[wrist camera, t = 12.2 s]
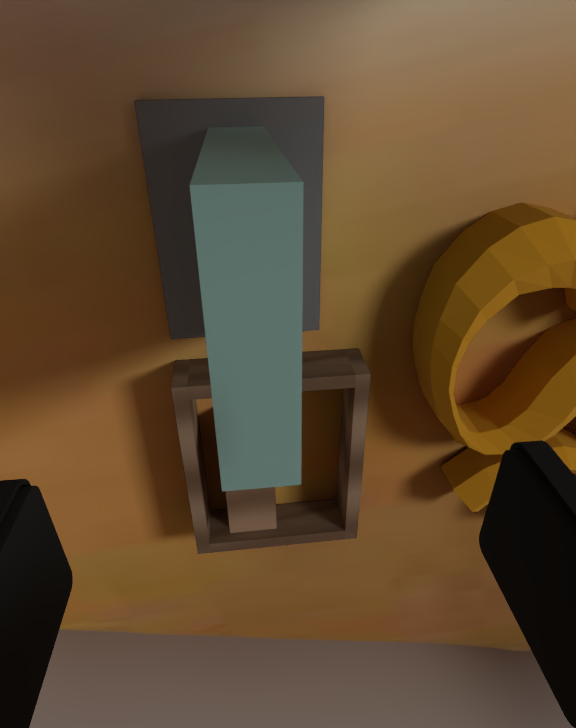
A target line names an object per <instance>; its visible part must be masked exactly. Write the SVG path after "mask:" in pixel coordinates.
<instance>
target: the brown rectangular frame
mask: <svg viewBox="0 0 576 728" xmlns="http://www.w3.org/2000/svg"><path fill="white" fill-rule="evenodd" d="M370 377H371V373H370V371H369V369H368V367H367V365H366V363H365V361H364V359H363V357H362V355H361V353H360V351H359V348H357V349H341V350H326V351H311V352H302V391H315V390H329V389H342V388H343V393H342V412H341V431H340V450H339V469H338V488H337V499H331V500H320V501H310V502H299V503H288V504H277V505H276V525H277V529H267V530H256V531H246V532H236V533H230V527H229V518H228V509H223V510H213V511H210V503H209V496H208V489H207V481H206V474H205V466H204V459H203V451H202V444H201V436H200V429H199V422H198V414H197V407H196V399H205V398H212V392H211V383H210V374H209V364H208V358H205V359H190V360H176V361H175V367H174V373H173V379H172V384H171V392H172V398H173V404H174V410H175V416H176V422H177V428H178V435H179V441H180V447H181V453H182V459H183V465H184V471H185V477H186V484H187V490H188V496H189V502H190V508H191V514H192V520H193V527H194V533H195V539H196V545H197V551H198V554H202V553H212V552H222V551H232V550H242V549H252V548H262V547H271V546H281V545H291V544H301V543H311V542H321V541H331V540H341V539H351V538H357V528H358V516H359V505H360V493H361V482H362V470H363V458H364V447H365V435H366V423H367V412H368V400H369V389H370Z"/></svg>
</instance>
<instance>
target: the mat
mask: <svg viewBox="0 0 576 728" xmlns="http://www.w3.org/2000/svg"><path fill="white" fill-rule="evenodd" d="M134 102H135V108H136V115H137V121H138V128H139V134H140V141H141V147H142V154H143V160H144V167H145V173H146V180H147V186H148V193H149V199H150V206H151V212H152V219H153V225H154V232H155V238H156V245H157V251H158V258H159V264H160V271H161V277H162V284H163V290H164V297H165V303H166V310H167V316H168V323H169V329H170V336H171V339H180V338H196V337H206V336H205V326H204V317H203V308H202V298H201V289H200V279H199V270H198V260H197V251H196V242H195V232H194V223H193V213H192V204H191V194H190V182H191V179H192V176H193V173H194V170H195V167H196V164H197V161H198V158H199V155H200V151H201V148H202V145H203V142H204V139H205V136H206V133H207V130H208V128H219V127H264V128H265V129H266V131H267V132H268V133H269V135H270V136H271V138H272V139H273V140H274V142H275V143H276V145H277V146H278V147H279V149H280V150H281V151H282V153H283V154H284V156H285V157H286V158H287V160H288V161H289V163H290V164H291V165H292V167H293V168H294V169H295V171H296V172H297V174H298V175H299V176H300V178H301V179H302V181H303V182H304V184H303V312H302V331H309V330H319V318H320V271H321V224H322V178H323V131H324V97H323V96H320V97H270V98H220V99H171V100H135V101H134Z"/></svg>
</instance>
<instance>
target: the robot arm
mask: <svg viewBox="0 0 576 728" xmlns="http://www.w3.org/2000/svg"><path fill="white" fill-rule="evenodd" d="M479 543H480V548H481V551H482V553H483V555H484V557H485V559H486V561H487V563H488V565H489V567H490V569H491V571H492V573H493V575H494V577H495V579H496V581H497V583H498V585H499V587H500V589H501V591H502V593H503V595H504V597H505V599H506V601H507V603H508V605H509V607H510V609H511V611H512V613H513V615H514V617H515V619H516V621H517V623H518V625H519V626H520V628H521V630H522V632H523V634H524V636H525V638H526V640H527V642H528V644H529V646H530V648H531V650H532V652H533V654H534V656H535V658H536V660H537V662H538V664H539V666H540V668H541V670H542V672H543V674H544V676H545V678H546V680H547V682H548V684H549V685H550V688H551V689H552V692H553V694H554V696H555V698H556V699H557V701H558V703H559V705H560V707H561V709H562V711H563V713H564V715H565V717H566V718H567V720H568V721H569V723H570V724H571V725H572V726H573V727H574V728H576V477H575V475H574V474H573V473H572V472H571V471H570V469H569V468H568V467H567V466H566V464H565V463H564V462H563V461H562V460H561V458H560V457H559V456H558V455H557V454H556V452H555V451H554V450H553V449H552V447H551V446H550V445H549V444H548V443H547V442H545V441H542V440H540V441H527V442H515V443H513V444H512V445H511V447H510V450H506V451H505V452H504V453H503V456H502V459H501V462H500V466H499V469H498V473H497V476H496V480H495V483H494V486H493V490H492V493H491V497H490V500H489V504H488V507H487V510H486V514H485V517H484V521H483V524H482V528H481V531H480V535H479ZM71 588H72V571H71V568H70V566H69V563H68V561H67V558H66V556H65V553H64V550H63V548H62V545H61V543H60V540H59V538H58V535H57V533H56V530H55V527H54V525H53V522H52V520H51V517H50V515H49V512H48V509H47V507H46V504H45V502H44V499H43V497H42V494H41V492H40V489H39V488H38V487H37V486H31V485H30V483H29V481H28V480H26V479H17V480H3V481H0V728H29V726H30V723H31V719H32V716H33V713H34V709H35V706H36V703H37V700H38V696H39V693H40V690H41V687H42V683H43V680H44V677H45V674H46V670H47V667H48V664H49V660H50V657H51V654H52V651H53V648H54V644H55V641H56V638H57V635H58V631H59V628H60V625H61V622H62V618H63V615H64V612H65V609H66V605H67V602H68V599H69V596H70V592H71Z"/></svg>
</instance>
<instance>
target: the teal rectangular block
mask: <svg viewBox="0 0 576 728" xmlns="http://www.w3.org/2000/svg"><path fill="white" fill-rule="evenodd" d="M303 184H304V182H303V181H302V179H301V178H300V176H299V175H298V174H297V172H296V171H295V169H294V168H293V167H292V165H291V164H290V163H289V161H288V160H287V158H286V157H285V156H284V154H283V153H282V151H281V150H280V149H279V147H278V146H277V145H276V143H275V142H274V140H273V139H272V138H271V136H270V135H269V133H268V132H267V131H266V129H265V128H264V127H219V128H208V130H207V133H206V136H205V139H204V142H203V145H202V148H201V151H200V155H199V158H198V161H197V164H196V167H195V170H194V173H193V176H192V179H191V182H190V194H191V204H192V213H193V223H194V232H195V242H196V251H197V260H198V270H199V279H200V289H201V298H202V308H203V317H204V326H205V336H206V345H207V355H208V364H209V374H210V383H211V392H212V402H213V411H214V421H215V430H216V440H217V449H218V458H219V468H220V477H221V487H222V491H234V490H245V489H257V488H269V487H280V486H292V485H301V440H302V312H303Z"/></svg>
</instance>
